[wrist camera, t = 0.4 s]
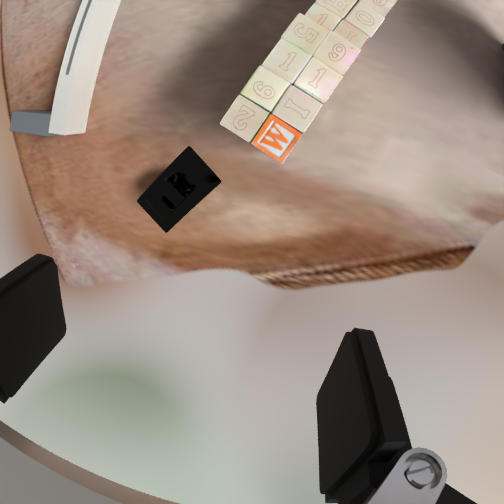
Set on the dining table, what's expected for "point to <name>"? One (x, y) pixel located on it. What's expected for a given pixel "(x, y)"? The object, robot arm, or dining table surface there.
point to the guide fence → (74, 75)
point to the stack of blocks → (302, 73)
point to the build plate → (178, 189)
